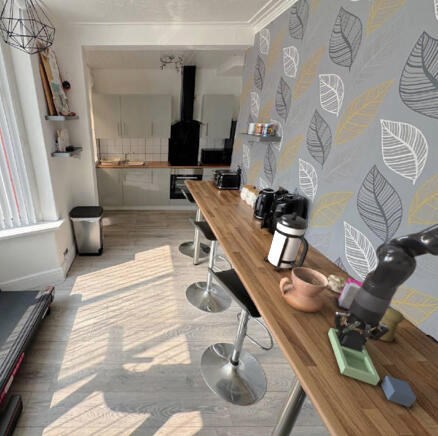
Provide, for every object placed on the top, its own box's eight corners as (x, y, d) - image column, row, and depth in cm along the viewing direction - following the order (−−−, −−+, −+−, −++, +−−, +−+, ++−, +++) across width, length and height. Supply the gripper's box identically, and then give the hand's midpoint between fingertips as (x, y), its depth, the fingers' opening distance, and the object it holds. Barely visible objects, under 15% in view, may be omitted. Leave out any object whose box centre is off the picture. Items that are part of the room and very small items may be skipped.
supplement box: (357, 313, 94) (369, 291, 90) (338, 307, 97) (349, 285, 93) (355, 304, 99) (366, 282, 94) (337, 298, 102) (347, 277, 97)
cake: (346, 285, 111) (352, 276, 109) (349, 298, 103) (355, 288, 101) (322, 276, 116) (327, 267, 113) (323, 287, 108) (328, 278, 105)
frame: (356, 342, 82) (359, 336, 81) (375, 385, 69) (380, 379, 67) (327, 333, 85) (330, 327, 84) (341, 373, 72) (345, 367, 70)
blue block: (400, 390, 68) (407, 382, 66) (409, 407, 64) (416, 398, 62) (380, 384, 69) (386, 375, 68) (387, 399, 65) (394, 391, 64)
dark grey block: (354, 339, 80) (359, 330, 78) (359, 350, 76) (364, 342, 75) (338, 334, 82) (342, 326, 80) (342, 345, 78) (347, 336, 76)
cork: (397, 340, 83) (412, 317, 79) (383, 342, 82) (397, 319, 78) (379, 326, 89) (392, 304, 84) (366, 328, 88) (378, 305, 83)
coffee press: (259, 265, 122) (274, 213, 110) (268, 253, 134) (282, 204, 121) (297, 280, 112) (317, 224, 100) (303, 266, 123) (322, 213, 111)
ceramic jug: (315, 295, 103) (327, 269, 97) (329, 321, 90) (343, 292, 84) (271, 287, 107) (279, 261, 101) (278, 310, 94) (288, 282, 89)
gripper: (346, 303, 71) (326, 342, 78) (407, 319, 66) (380, 359, 73) (338, 288, 77) (321, 326, 84) (394, 301, 73) (370, 340, 79)
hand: (349, 341), depth 79 cm, fingers closed on dark grey block, 4 cm apart
